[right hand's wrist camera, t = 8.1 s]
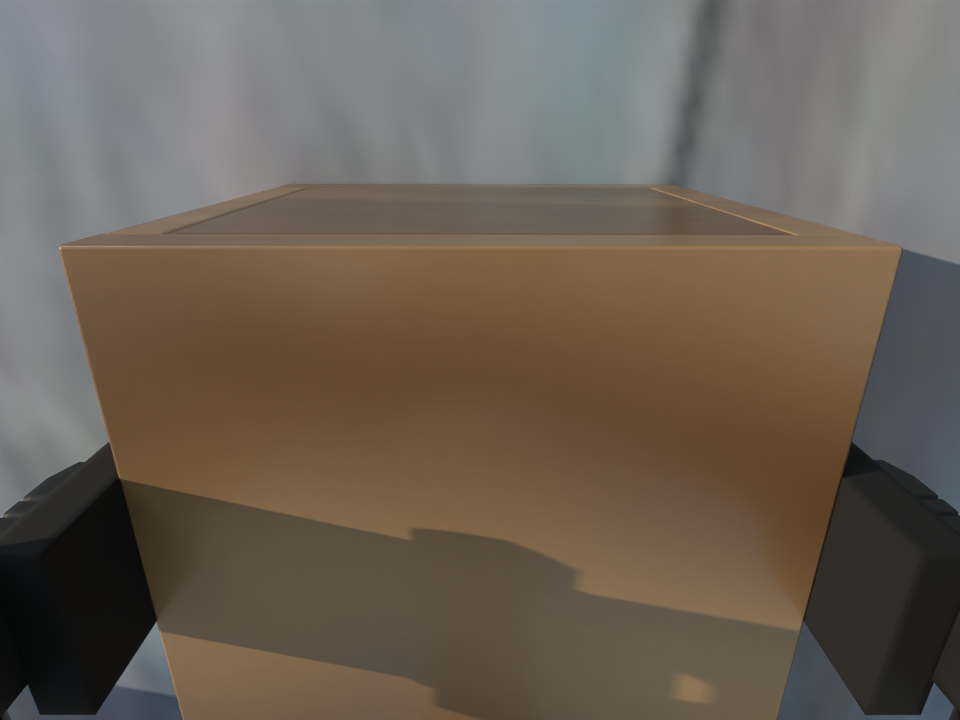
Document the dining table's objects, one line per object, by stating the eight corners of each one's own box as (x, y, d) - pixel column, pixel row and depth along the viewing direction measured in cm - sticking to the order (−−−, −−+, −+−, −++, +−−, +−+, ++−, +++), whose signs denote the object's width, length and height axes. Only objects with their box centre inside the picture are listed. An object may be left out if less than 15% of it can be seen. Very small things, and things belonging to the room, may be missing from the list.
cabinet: (611, 708, 23) (689, 1050, 14) (347, 708, 23) (268, 1049, 14) (673, 184, 16) (906, 246, 7) (286, 184, 16) (54, 244, 7)
